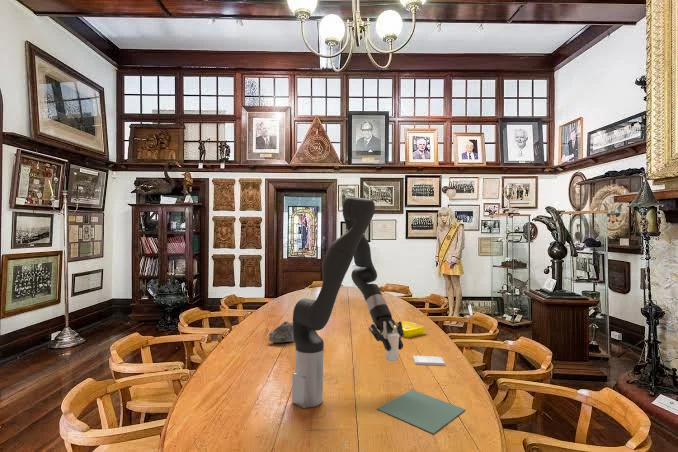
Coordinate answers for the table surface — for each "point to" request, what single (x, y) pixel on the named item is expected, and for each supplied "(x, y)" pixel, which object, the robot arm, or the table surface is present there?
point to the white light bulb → (393, 347)
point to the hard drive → (428, 360)
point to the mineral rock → (282, 333)
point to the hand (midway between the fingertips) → (395, 349)
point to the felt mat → (421, 411)
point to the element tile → (412, 329)
